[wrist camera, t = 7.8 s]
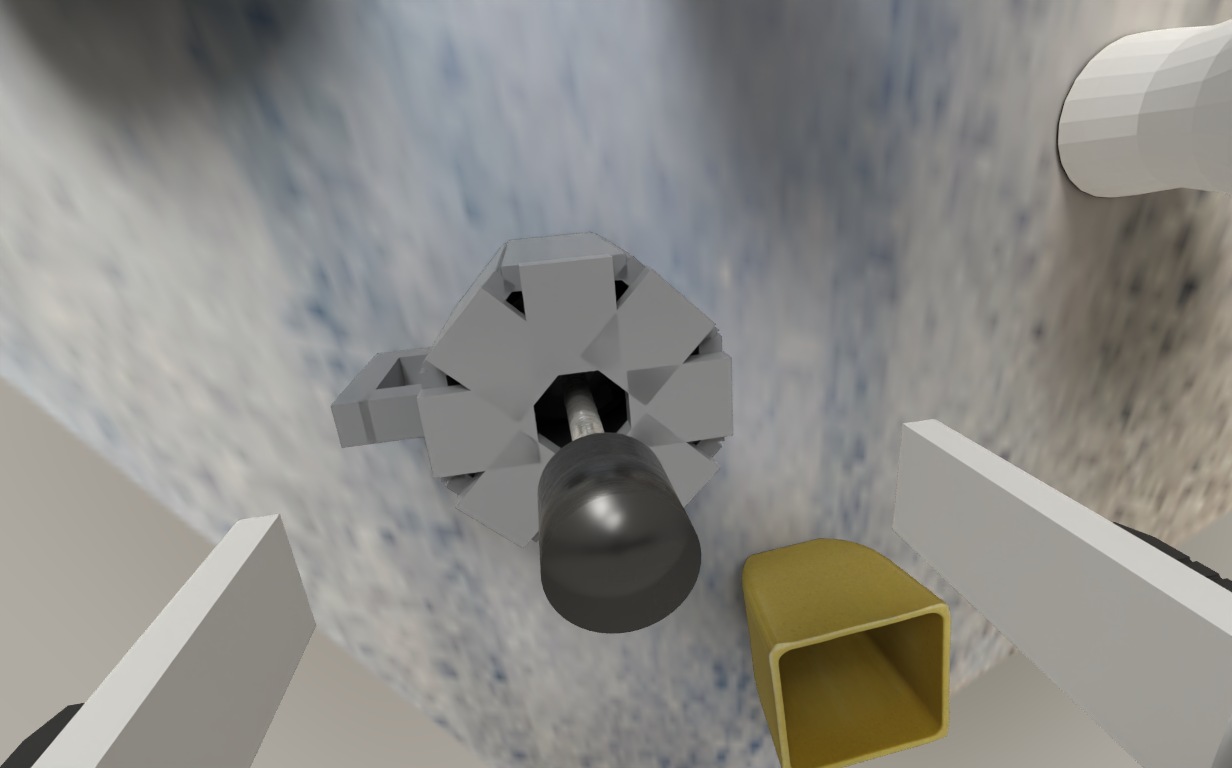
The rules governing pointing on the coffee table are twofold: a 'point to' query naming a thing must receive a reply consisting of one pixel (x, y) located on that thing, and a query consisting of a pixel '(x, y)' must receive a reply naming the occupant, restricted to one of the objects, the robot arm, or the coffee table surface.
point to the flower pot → (845, 653)
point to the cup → (1152, 114)
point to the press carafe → (549, 377)
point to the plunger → (608, 518)
